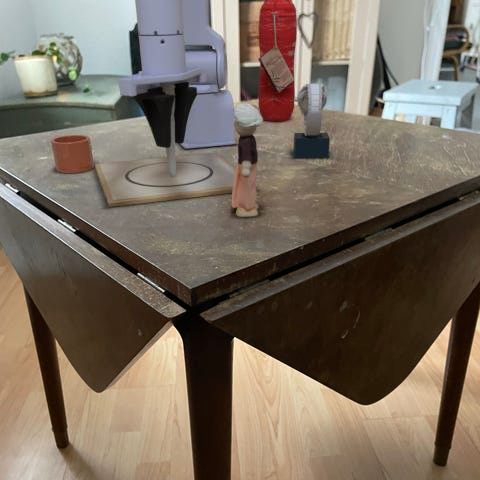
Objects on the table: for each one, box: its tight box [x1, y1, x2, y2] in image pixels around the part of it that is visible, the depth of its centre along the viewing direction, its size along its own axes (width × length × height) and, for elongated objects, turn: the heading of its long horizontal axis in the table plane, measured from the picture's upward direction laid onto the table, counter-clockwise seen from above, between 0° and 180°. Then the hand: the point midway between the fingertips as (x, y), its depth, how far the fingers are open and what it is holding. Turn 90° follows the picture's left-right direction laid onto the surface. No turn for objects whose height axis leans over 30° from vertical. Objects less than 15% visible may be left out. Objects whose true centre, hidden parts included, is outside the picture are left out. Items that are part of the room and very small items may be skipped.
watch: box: [293, 83, 331, 159], centre depth 88 cm, size 6×8×11 cm
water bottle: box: [257, 0, 298, 123], centre depth 109 cm, size 12×8×25 cm, turn 168°
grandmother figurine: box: [230, 102, 264, 218], centre depth 64 cm, size 8×4×13 cm, turn 5°
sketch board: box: [94, 152, 236, 208], centre depth 80 cm, size 20×20×1 cm
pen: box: [160, 82, 176, 176], centre depth 74 cm, size 2×3×14 cm
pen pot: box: [50, 134, 95, 174], centre depth 85 cm, size 6×6×4 cm
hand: (170, 144), depth 75 cm, fingers closed on pen, 2 cm apart
